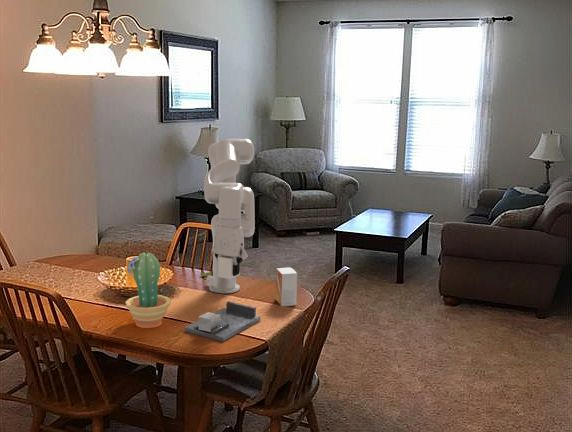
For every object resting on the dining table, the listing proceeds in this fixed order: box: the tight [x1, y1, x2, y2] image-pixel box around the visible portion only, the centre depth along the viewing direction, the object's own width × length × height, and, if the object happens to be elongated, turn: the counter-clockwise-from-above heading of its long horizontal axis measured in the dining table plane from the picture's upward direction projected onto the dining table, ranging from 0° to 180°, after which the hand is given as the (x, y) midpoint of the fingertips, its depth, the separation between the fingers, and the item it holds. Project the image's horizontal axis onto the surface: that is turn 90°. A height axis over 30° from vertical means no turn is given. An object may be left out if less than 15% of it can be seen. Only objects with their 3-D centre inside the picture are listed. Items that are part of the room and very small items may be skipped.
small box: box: [275, 267, 298, 307], centre depth 243 cm, size 8×6×13 cm
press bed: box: [184, 300, 261, 342], centre depth 218 cm, size 16×23×4 cm
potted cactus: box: [125, 252, 172, 329], centre depth 216 cm, size 16×15×25 cm
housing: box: [218, 255, 241, 279], centre depth 216 cm, size 5×6×8 cm
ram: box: [198, 311, 221, 332], centre depth 211 cm, size 5×8×4 cm, turn 151°
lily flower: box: [199, 267, 213, 280], centre depth 275 cm, size 12×12×5 cm
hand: (229, 273), depth 217 cm, fingers closed on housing, 5 cm apart
